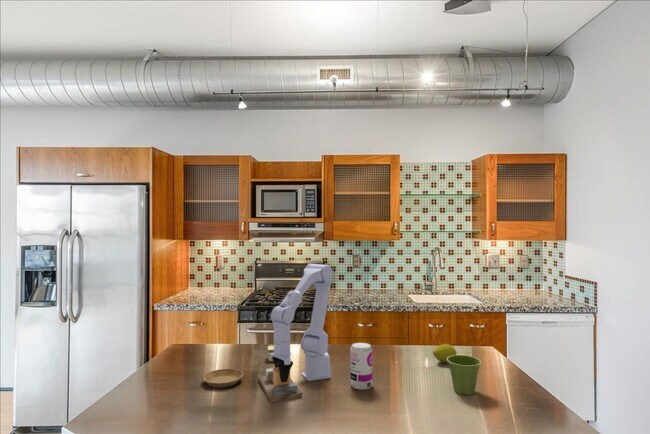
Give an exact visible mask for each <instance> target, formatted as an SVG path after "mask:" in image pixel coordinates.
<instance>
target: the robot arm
mask: <svg viewBox="0 0 650 434" xmlns="http://www.w3.org/2000/svg"><path fill="white" fill-rule="evenodd" d="M333 275H334V271H333V268H332V267H331V265H330V264H319V263H308V264H307V265H306V266H305V268H304V269H303V276H302V278H301V279H300V281H299V282H298V283H297V286H296V287H295V289H294V290H289V291H288V293H287V294H286V296H285V297H284V299H283V300H282V301H281V302H280V304H279V305H277V306H275V307H273V309H272V310H271V314H270V315H269V316H270V319H271V321H272V326H273V346H274V353H271V356H272V359H273V365H274V368H276V367H278V368H279V372H280V379H281V382H287V380H288V376H289V372H290V373H291V370H292V367H293V365H294V362H293V360H292V359H291V322H293V321H294V317H295V314H296V310H297V309H298V308H299V306H300V305H301V302H303V296H304V294H305V292H306V291H307V290H308V289H309V288H310V286H312V285H314V286H315V289H316V290H315V295H314V302H313V306H312V307H313V308H312V313H311V320H310V326H309V328H308V329H306V330H305V331H304V332H303V336H302V339H301V341H300V347H301V350H302V351H303V354H304V355H305V356H304V357H305V359H304V360H305V361H304V363H305V368H304V369H305V371H304V372H301V374H302V376H303V377H304V378H305V379H306V380H307V381H308V382H310V381H319V380H325V379H331V378H332V376H331V358H330V355H329V353H328V349H329V335H328V334H327V333H326V331H325V330H324V326H325V321H326V314H327V307H328V302H329V297H330V290H331V288H330V287H331V286H332V281H333Z"/></svg>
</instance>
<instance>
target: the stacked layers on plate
mask: <svg viewBox="0 0 650 434" xmlns="http://www.w3.org/2000/svg"><path fill="white" fill-rule="evenodd" d="M271 353H274V345H269V346H267V358H268V362H269V361H273V359H272V356H271Z"/></svg>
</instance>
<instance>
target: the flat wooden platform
mask: <svg viewBox="0 0 650 434" xmlns="http://www.w3.org/2000/svg"><path fill="white" fill-rule="evenodd" d="M257 379H258V380H257V381H258V383H259V384H260V386H261V388H262V389H263V391H264V392H265V393H264V394H265V395H266V396H267V398H268V400H269V401H270V403H273V402H281V401H285V400H291V399H293V400H294V399H297V398H302V397H303V391H302V390H301V389H300V388H299V387H298V384H297V383H296V382H294V381H293V379H292V378H291V377H290V384H284V385H278V386H275V384H274V383H273V381H272V382H267V380H266V375H261V376H258V378H257Z"/></svg>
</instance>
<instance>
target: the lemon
mask: <svg viewBox="0 0 650 434" xmlns="http://www.w3.org/2000/svg"><path fill="white" fill-rule="evenodd" d="M432 354H433V356H434V358H435V359H436V360H437V361H438V362H440V363H443V364H449V363H448V361H447V357H449V356H452V355H457V350H456V349H455V347H454V346H453V345H451V344H449V343H442V344H440V345H438V346H436V348H435V349H434V350H433V352H432Z"/></svg>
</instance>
